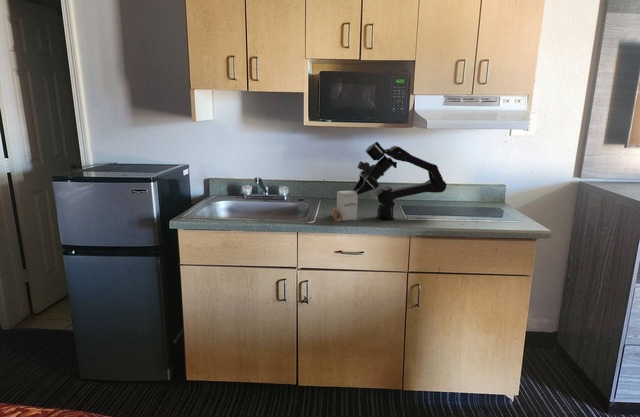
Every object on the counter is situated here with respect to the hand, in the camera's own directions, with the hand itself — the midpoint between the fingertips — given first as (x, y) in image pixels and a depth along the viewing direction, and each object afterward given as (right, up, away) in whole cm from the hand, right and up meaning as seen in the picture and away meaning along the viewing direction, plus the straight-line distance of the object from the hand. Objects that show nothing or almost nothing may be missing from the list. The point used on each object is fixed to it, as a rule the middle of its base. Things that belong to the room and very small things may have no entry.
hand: (355, 191), depth 193 cm
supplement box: (-4, -13, +3) cm, 13 cm away
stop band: (-8, -12, +3) cm, 15 cm away
